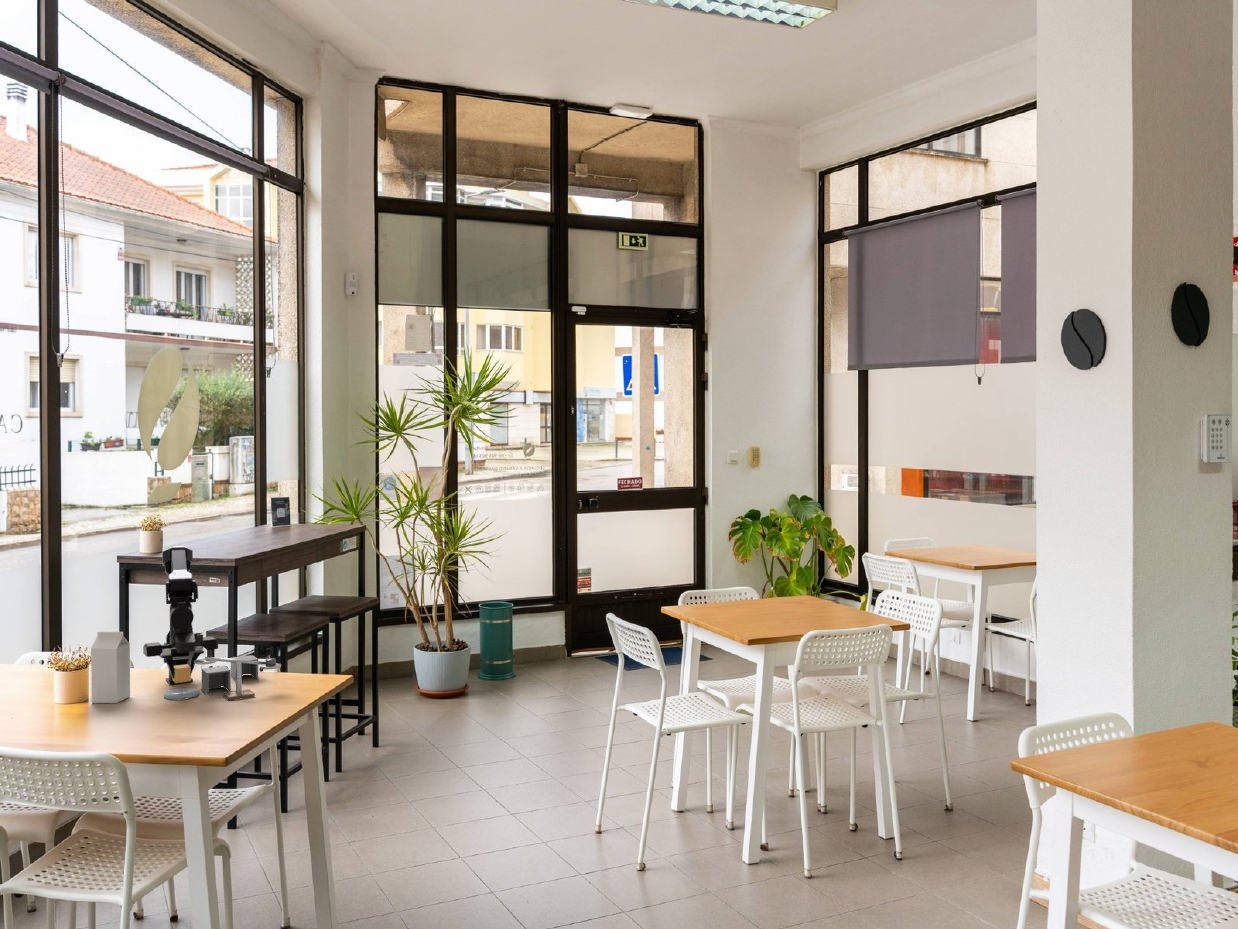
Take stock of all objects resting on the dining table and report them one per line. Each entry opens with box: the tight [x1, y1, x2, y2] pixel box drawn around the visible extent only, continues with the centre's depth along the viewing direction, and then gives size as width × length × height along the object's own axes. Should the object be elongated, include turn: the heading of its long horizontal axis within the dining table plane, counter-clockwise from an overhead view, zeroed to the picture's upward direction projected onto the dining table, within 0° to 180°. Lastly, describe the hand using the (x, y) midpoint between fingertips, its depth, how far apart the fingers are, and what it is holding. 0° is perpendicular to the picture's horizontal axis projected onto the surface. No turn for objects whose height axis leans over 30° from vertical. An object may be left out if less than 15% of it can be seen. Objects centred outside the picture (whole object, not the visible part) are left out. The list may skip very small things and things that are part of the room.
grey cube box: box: [201, 665, 232, 695], centre depth 288 cm, size 6×6×6 cm
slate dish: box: [163, 687, 200, 701], centre depth 281 cm, size 9×9×1 cm
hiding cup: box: [230, 654, 259, 681], centre depth 302 cm, size 6×6×6 cm
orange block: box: [172, 664, 192, 684], centre depth 281 cm, size 4×4×4 cm
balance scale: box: [194, 656, 282, 702], centre depth 281 cm, size 6×23×12 cm, turn 125°
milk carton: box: [90, 631, 131, 704], centre depth 276 cm, size 7×7×19 cm
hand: (181, 676), depth 281 cm, fingers closed on orange block, 4 cm apart
